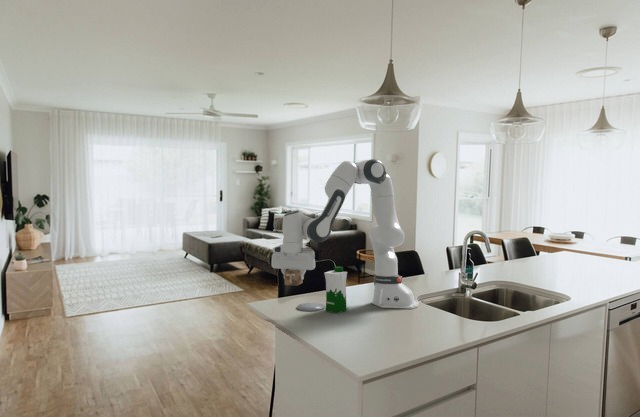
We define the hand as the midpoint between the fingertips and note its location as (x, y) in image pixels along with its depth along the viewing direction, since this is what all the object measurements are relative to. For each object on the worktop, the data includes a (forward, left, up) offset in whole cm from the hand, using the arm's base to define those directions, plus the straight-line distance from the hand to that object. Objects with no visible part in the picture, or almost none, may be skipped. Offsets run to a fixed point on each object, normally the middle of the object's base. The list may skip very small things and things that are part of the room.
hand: (293, 279), depth 186 cm
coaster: (-2, -15, -16) cm, 22 cm away
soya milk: (-15, -14, -17) cm, 26 cm away
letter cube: (0, 0, -2) cm, 2 cm away
